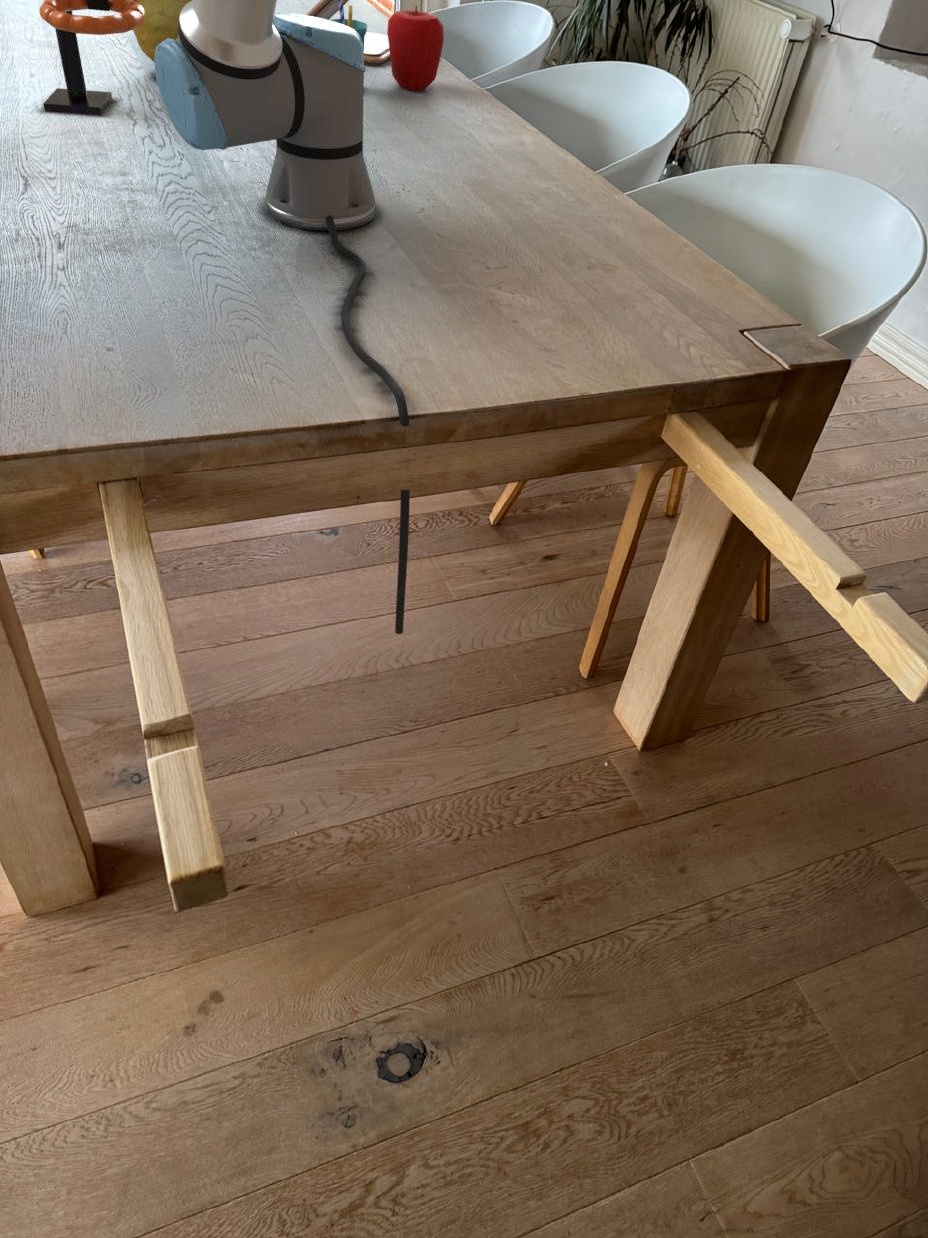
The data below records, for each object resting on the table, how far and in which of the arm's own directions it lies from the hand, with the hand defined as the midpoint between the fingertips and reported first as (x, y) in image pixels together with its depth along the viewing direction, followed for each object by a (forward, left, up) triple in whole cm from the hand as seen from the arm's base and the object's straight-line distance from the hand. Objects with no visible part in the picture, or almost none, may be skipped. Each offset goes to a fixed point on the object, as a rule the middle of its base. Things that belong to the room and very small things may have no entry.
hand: (101, 6), depth 126 cm
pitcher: (+44, -2, -19) cm, 48 cm away
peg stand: (+22, +12, -19) cm, 31 cm away
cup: (+45, -32, -19) cm, 59 cm away
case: (+74, -32, -19) cm, 83 cm away
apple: (+49, -45, -19) cm, 69 cm away
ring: (-5, 0, 0) cm, 6 cm away
